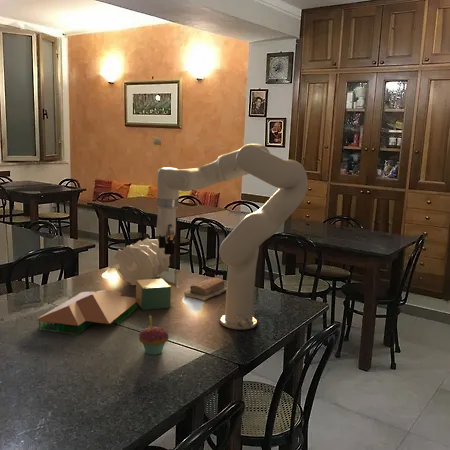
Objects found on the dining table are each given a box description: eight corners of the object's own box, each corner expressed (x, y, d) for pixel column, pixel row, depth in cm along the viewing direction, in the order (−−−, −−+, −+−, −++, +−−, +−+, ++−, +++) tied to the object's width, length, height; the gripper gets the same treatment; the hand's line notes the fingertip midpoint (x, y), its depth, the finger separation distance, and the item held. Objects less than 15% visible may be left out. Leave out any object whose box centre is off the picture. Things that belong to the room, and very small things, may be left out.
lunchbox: (170, 307, 184) (170, 286, 183) (142, 310, 180) (143, 288, 179) (161, 298, 194) (162, 278, 193) (135, 300, 190) (135, 280, 189)
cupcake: (155, 360, 141) (156, 319, 139) (132, 352, 145) (133, 312, 143) (174, 350, 148) (175, 311, 146) (151, 342, 152) (152, 304, 150)
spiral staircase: (162, 283, 228) (140, 296, 204) (131, 263, 231) (105, 273, 207) (181, 249, 224) (160, 258, 200) (148, 229, 227) (124, 235, 203)
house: (142, 305, 185) (142, 284, 184) (103, 338, 153) (103, 313, 152) (84, 298, 190) (84, 277, 188) (35, 329, 158) (34, 304, 156)
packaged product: (209, 275, 213) (229, 279, 208) (208, 286, 214) (228, 290, 209) (184, 284, 197) (205, 289, 192) (183, 296, 198) (204, 301, 193)
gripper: (152, 199, 182) (150, 245, 185) (162, 206, 166) (160, 257, 169) (172, 200, 185) (170, 245, 188) (184, 206, 169) (182, 256, 172)
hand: (166, 250), depth 179 cm, fingers open, 9 cm apart
